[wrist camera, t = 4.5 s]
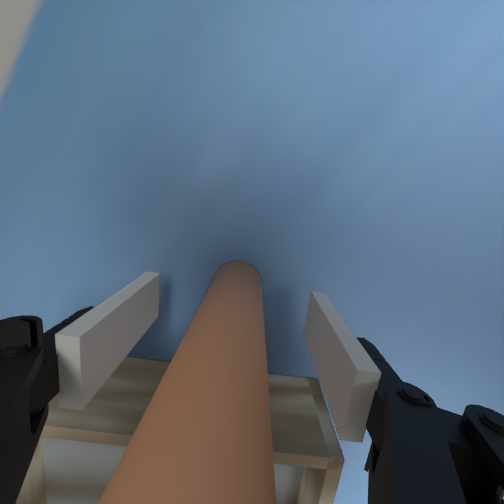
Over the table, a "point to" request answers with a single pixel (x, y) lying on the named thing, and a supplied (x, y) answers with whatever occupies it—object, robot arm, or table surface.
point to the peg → (208, 409)
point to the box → (130, 414)
